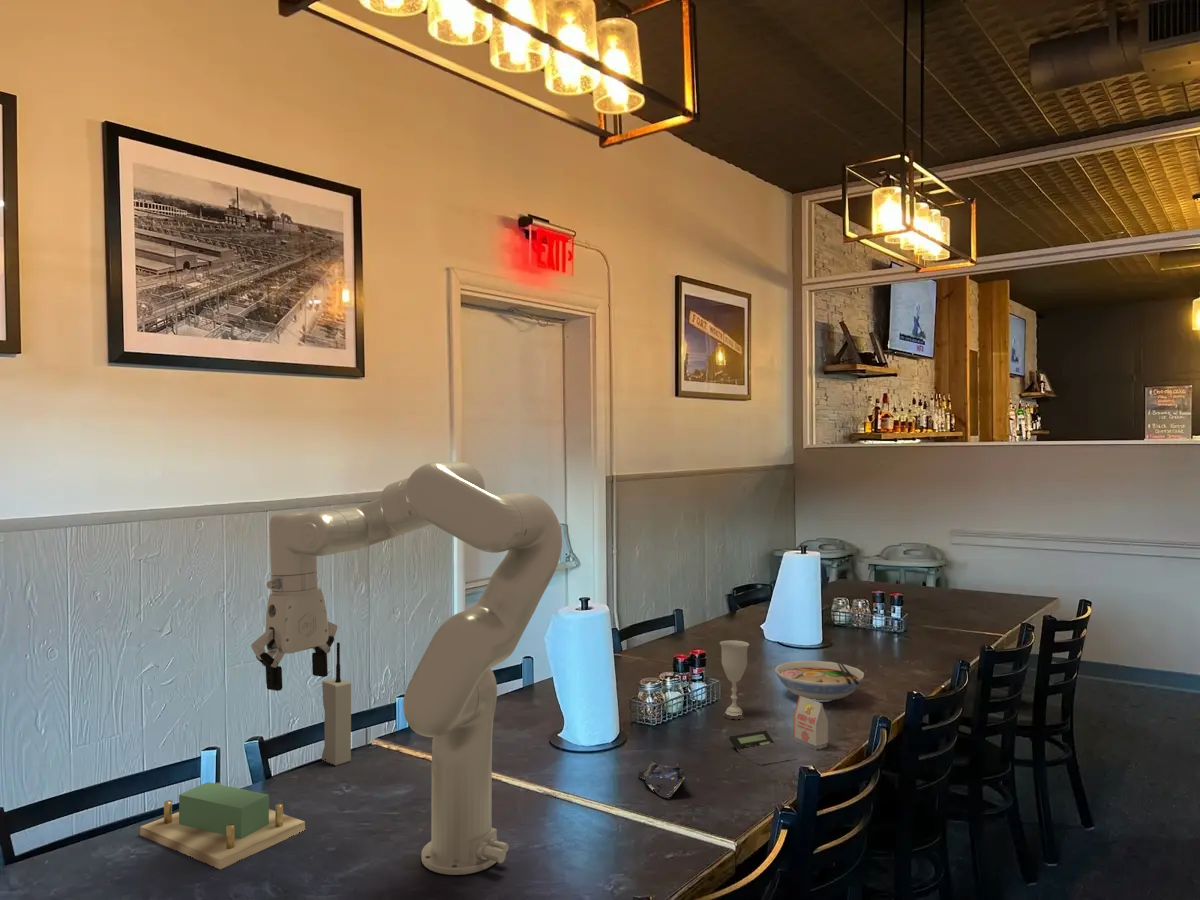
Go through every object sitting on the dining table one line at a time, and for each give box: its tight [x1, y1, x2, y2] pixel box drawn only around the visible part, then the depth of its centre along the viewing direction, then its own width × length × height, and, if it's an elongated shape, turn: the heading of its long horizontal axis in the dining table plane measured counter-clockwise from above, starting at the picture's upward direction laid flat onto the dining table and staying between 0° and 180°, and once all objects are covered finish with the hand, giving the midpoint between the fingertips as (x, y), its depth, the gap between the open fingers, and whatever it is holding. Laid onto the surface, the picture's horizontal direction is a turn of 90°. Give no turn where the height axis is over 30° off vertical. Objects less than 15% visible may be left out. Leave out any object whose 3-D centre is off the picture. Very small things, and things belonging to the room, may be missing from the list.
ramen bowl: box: [774, 659, 865, 701], centre depth 223 cm, size 25×23×8 cm
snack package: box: [637, 759, 688, 798], centre depth 165 cm, size 12×6×12 cm
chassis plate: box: [139, 782, 306, 870], centre depth 144 cm, size 22×16×5 cm
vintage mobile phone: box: [321, 642, 352, 767], centre depth 178 cm, size 4×5×25 cm
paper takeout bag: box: [793, 696, 829, 746], centre depth 189 cm, size 4×7×10 cm, turn 32°
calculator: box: [729, 730, 775, 750], centre depth 183 cm, size 9×12×3 cm
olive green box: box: [178, 781, 270, 839], centre depth 144 cm, size 14×6×5 cm, turn 67°
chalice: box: [719, 639, 750, 716], centre depth 208 cm, size 7×7×18 cm
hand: (298, 682), depth 147 cm, fingers open, 9 cm apart
